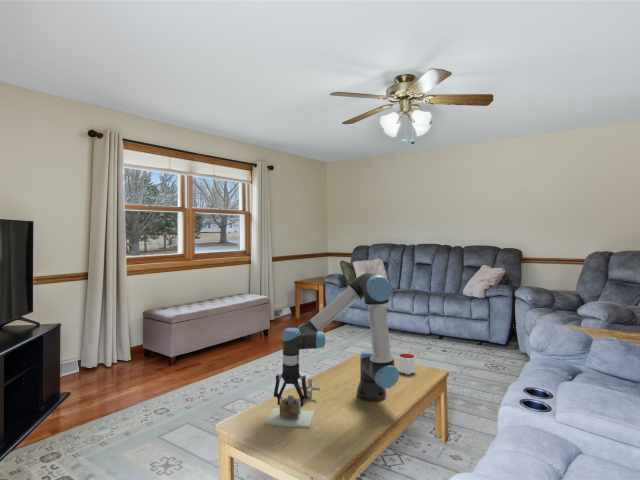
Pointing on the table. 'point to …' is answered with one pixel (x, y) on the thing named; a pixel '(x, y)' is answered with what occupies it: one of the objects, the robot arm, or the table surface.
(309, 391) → the pipe connector
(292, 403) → the post stand
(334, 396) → the table surface
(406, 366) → the cup
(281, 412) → the collar
